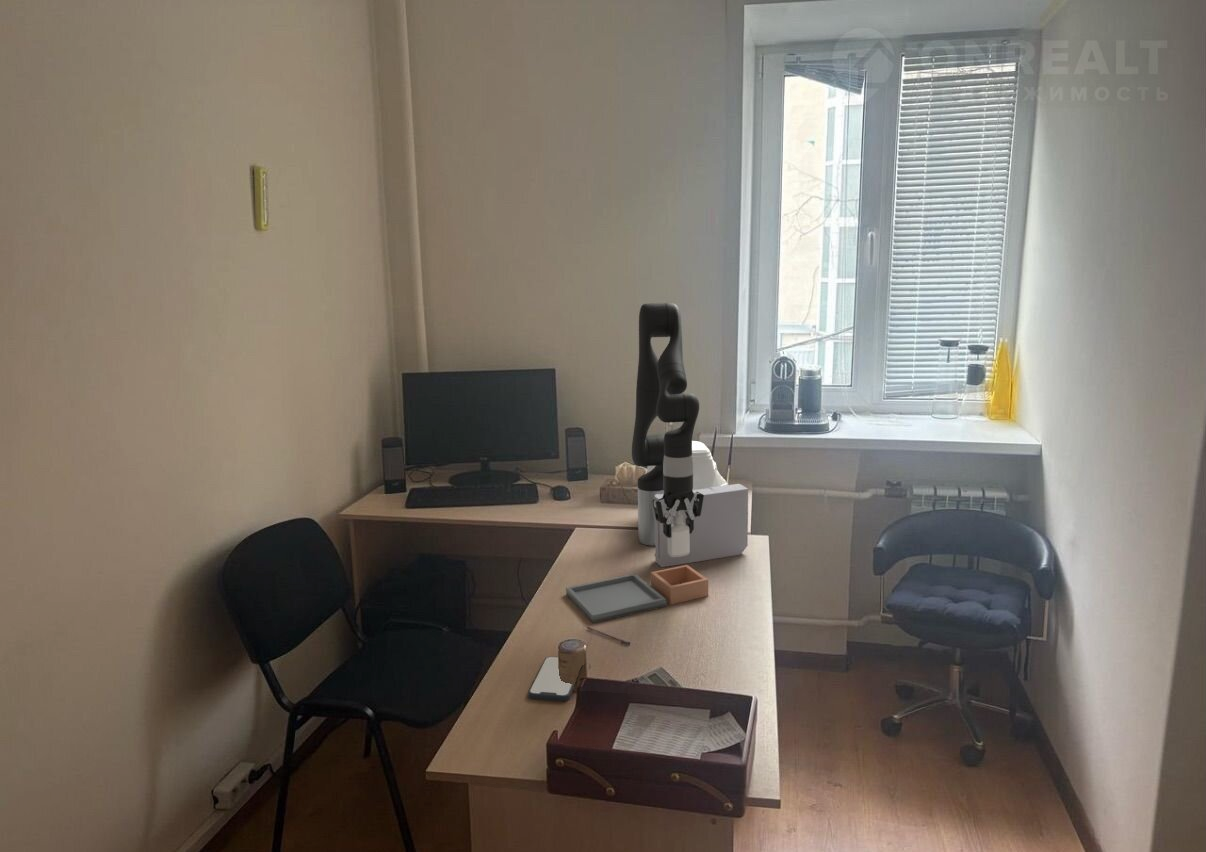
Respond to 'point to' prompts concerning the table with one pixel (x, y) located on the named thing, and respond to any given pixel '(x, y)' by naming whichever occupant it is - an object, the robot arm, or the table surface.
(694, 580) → the holder box
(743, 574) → the table surface
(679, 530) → the eye dropper bottle
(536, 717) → the table surface
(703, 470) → the paper stack
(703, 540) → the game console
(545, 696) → the phone case
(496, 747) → the table surface
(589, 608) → the tray
